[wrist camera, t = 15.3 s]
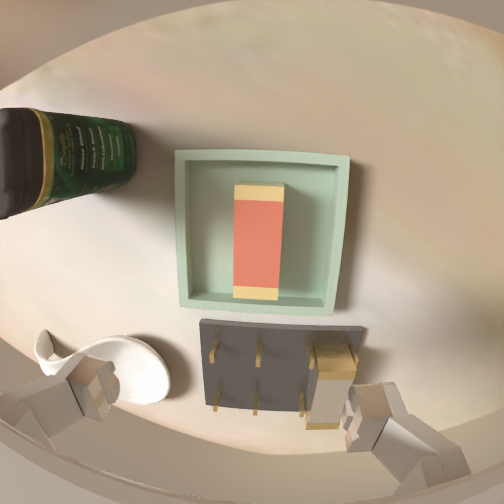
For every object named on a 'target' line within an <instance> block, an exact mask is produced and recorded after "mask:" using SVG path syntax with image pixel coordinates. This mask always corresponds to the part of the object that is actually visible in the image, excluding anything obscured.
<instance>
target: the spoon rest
mask: <svg viewBox="0 0 504 504" xmlns="http://www.w3.org/2000/svg"><path fill="white" fill-rule="evenodd" d="M77 352H81V353H84V354H88V355H92V356H96V357H99V358H103V359H107V360H110V361H112V362H113V363H114V366H115V369H116V370H115V371H114V374H115V375H116V377H117V378H118V379H119V383H120V392H119V397H118V398H117V400H118V401H123V402H126V403H131V404H137V405H150V404H155V403H158V402H160V401H162V400H163V399H164V398H165V397H166V396H167V395H168V393H169V391H170V387H171V378H170V374H169V370H168V368H167V366H166V364H165V362H164V361H163V359H162V358H161V356H160V355H159V354H158V353H157V352H156V351H155V350H154V349H153V348H152V347H151V346H149V345H148V344H147V343H145V342H143V341H141V340H139V339H136V338H133V337H129V336H122V335H117V336H110V337H106V338H103V339H100V340H97V341H95V342H93V343H91V344H89V345H87V346H85V347H84V348H82V349H80V350H79V351H77ZM53 353H54V348H53V344H52V342H51V339H50V336H49V334H48V332H47V331H46V330H42V331H41V332H40V334H39V335H38V337H37V339H36V342H35V354H36V356H37V358H38V359H39V362H40V366H41V368H42V370H43V372H44V373H45V374H46V375H47V376H49V375H55V374H56V373H57V372H58V371H59V370H60V369H61V368H62V366H63V365H64V364H65V363H66V362H67V361H68V360H69V359H70V358H71V357H72V356H73V355H74V354H75V353H76V352H75V353H74V354H72V355H70V356H68V357H66V358H64V359H61V360H57V361H51V360H48V358H49V357H50V356H51V355H52V354H53Z"/></svg>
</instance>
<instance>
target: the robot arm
mask: <svg viewBox="0 0 504 504" xmlns="http://www.w3.org/2000/svg"><path fill="white" fill-rule="evenodd" d="M115 370H116V369H115V366H114V363H113V362H112V361H110V360H107V359H103V358H99V357H96V356H92V355H88V354H84V353H81V352H76V353H75V354H74V355H73V356H72V357H71V358H70V359H69V360H68V361H67V362H66V363H65V364H64V365H63V366H62V368H61V369H60V370H59V371H58V372H57V373H56V374H55V375H49V376H46V377H43V378H41V379H38V380H35V381H32V382H30V383H27V384H24V385H21V386H18V387H16V388H13V389H10V390H7V391H4V392H3V394H2V395H1V396H0V504H253V503H241V502H231V501H224V500H216V499H209V498H204V497H198V496H192V495H187V494H182V493H177V492H173V491H169V490H164V489H160V488H156V487H153V486H149V485H145V484H142V483H138V482H135V481H132V480H129V479H126V478H122V477H120V476H116V475H114V474H111V473H108V472H105V471H103V470H100V469H97V468H95V467H92V466H90V465H87V464H85V463H83V462H80V461H78V460H75V459H73V458H71V457H69V456H67V455H65V454H63V453H60V452H58V451H56V450H55V448H54V446H53V445H52V443H51V442H50V440H49V438H50V437H52V436H54V435H56V434H57V433H59V432H60V431H62V430H64V429H66V428H67V427H69V426H71V425H72V424H74V423H76V422H77V421H79V420H81V419H82V418H84V416H85V417H88V418H91V419H94V420H97V421H101V422H103V421H104V420H105V418H106V417H107V415H108V413H109V412H110V406H109V405H111V404H113V403H115V402H116V400H117V398H118V397H119V392H120V383H119V379H118V378H117V377H116V375H115V374H114V371H115ZM348 396H349V400H347V401H346V402H345V404H344V407H343V413H342V423H343V428H344V429H345V430H346V431H347V434H346V436H345V441H346V447H347V452H348V453H349V452H366V451H372V453H373V454H374V455H375V457H376V458H377V459H378V460H379V461H380V462H381V463H382V464H383V465H384V466H385V467H386V468H387V469H388V470H389V471H390V472H391V473H392V474H393V476H394V477H395V478H396V479H397V480H398V481H399V482H400V483H401V484H400V486H399V487H398V488H397V489H396V490H395V491H394V493H393V494H392V495H391V496H389V497H384V498H378V499H371V500H364V501H356V502H347V503H335V504H504V460H503V461H501V462H499V463H497V464H495V465H492V466H490V467H488V468H485V469H483V470H480V471H478V472H475V473H471V471H470V468H469V466H468V464H467V461H466V459H465V457H464V455H463V452H462V450H461V448H460V446H458V445H456V444H455V443H454V442H452V441H451V440H449V439H447V438H446V437H445V436H443V435H442V434H440V433H439V432H437V431H436V430H434V429H433V428H431V427H430V426H428V425H427V424H426V423H424V422H423V421H421V420H420V419H418V418H417V417H415V416H414V415H413V414H411V415H408V412H407V410H406V408H405V405H404V403H403V400H402V398H401V396H400V393H399V391H398V389H397V386H396V384H395V383H394V382H388V383H380V384H378V383H377V384H359V385H351V386H350V388H349V391H348Z"/></svg>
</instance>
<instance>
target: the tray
mask: <svg viewBox="0 0 504 504" xmlns="http://www.w3.org/2000/svg"><path fill="white" fill-rule="evenodd" d="M349 166H350V156H343V155H332V154H321V153H308V152H294V151H275V150H244V149H197V150H175V229H176V253H177V271H178V287H179V300H180V307H186V308H196V309H208V310H220V311H233V312H247V313H264V314H283V315H306V316H333V311H334V305H335V298H336V292H337V285H338V278H339V271H340V263H341V255H342V247H343V238H344V229H345V219H346V208H347V196H348V182H349ZM240 181H263V182H283V184H284V204H283V223H282V240H281V257H280V272H279V287H278V300H260V299H244V298H233V248H234V188H235V184H237V183H239V182H240Z"/></svg>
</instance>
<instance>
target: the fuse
mask: <svg viewBox="0 0 504 504" xmlns="http://www.w3.org/2000/svg"><path fill="white" fill-rule="evenodd" d="M283 204H284V184H283V182H263V181H240V182H239V183H237V184H235V188H234V248H233V298H244V299H260V300H278V287H279V272H280V257H281V240H282V223H283Z"/></svg>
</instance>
